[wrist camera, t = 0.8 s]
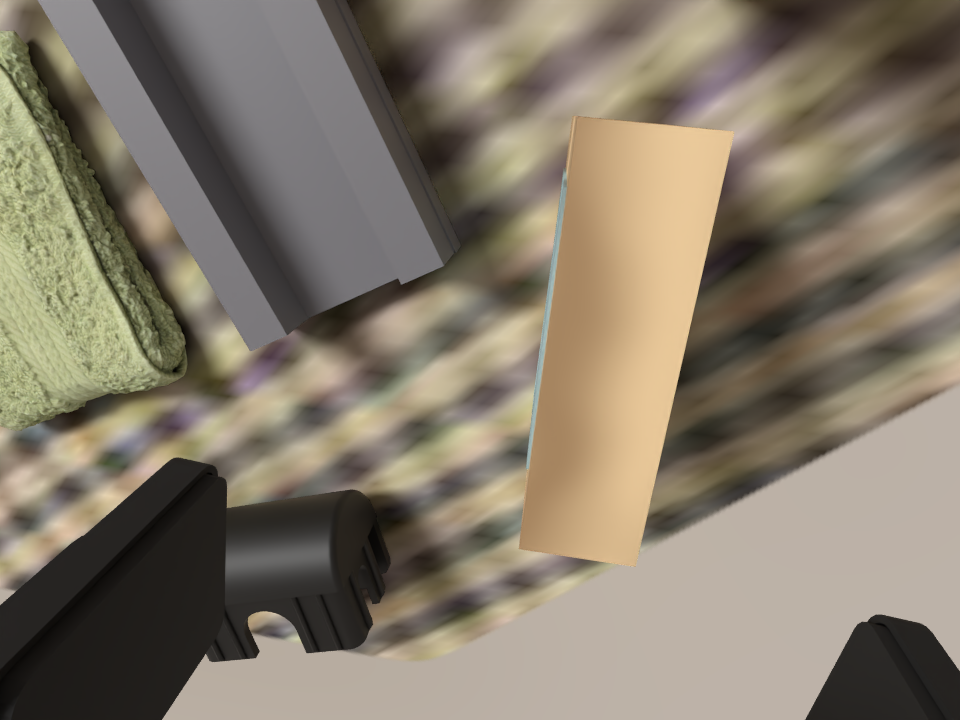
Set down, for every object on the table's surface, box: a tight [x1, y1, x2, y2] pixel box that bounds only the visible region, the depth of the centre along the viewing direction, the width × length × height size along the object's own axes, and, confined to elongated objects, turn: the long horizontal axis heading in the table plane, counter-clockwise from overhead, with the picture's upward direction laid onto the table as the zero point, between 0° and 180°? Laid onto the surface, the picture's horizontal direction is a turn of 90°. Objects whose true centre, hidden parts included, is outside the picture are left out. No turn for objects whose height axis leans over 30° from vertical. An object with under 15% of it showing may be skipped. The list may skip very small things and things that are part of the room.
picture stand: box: [38, 0, 461, 351], centre depth 25 cm, size 10×22×4 cm, turn 25°
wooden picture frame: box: [519, 116, 734, 567], centre depth 24 cm, size 4×14×11 cm, turn 175°
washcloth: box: [0, 31, 187, 431], centre depth 31 cm, size 13×18×3 cm
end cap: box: [206, 490, 390, 662], centre depth 33 cm, size 10×7×7 cm
